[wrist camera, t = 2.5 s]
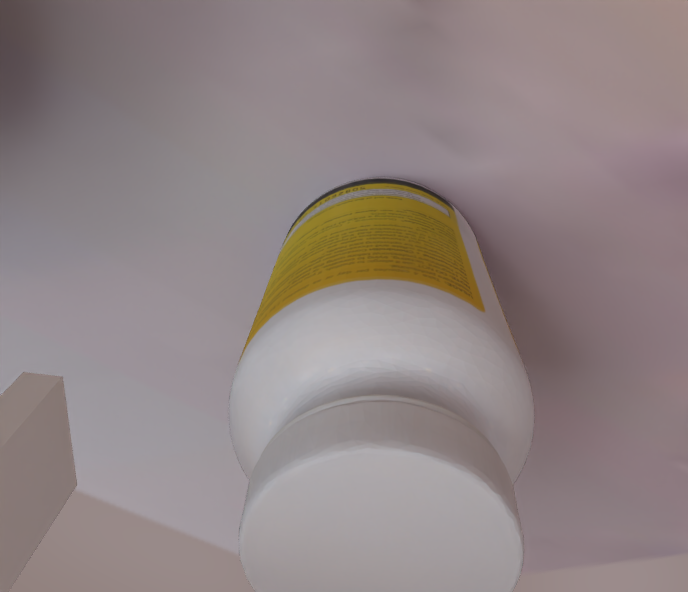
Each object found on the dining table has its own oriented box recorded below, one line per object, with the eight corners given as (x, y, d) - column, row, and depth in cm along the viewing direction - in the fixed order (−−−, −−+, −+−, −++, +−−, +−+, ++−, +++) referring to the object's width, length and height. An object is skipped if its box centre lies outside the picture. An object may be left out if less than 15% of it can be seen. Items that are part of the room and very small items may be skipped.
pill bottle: (251, 206, 20) (106, 451, 9) (451, 142, 18) (538, 342, 8) (321, 371, 22) (267, 705, 12) (500, 325, 21) (612, 653, 11)
